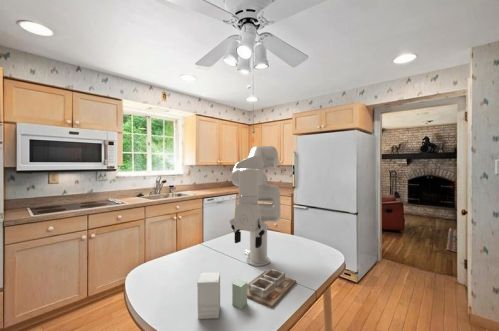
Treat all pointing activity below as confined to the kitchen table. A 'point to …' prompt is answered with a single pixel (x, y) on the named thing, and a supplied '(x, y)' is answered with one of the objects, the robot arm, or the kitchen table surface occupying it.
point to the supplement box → (208, 295)
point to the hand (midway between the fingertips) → (247, 244)
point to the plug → (239, 293)
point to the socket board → (269, 287)
